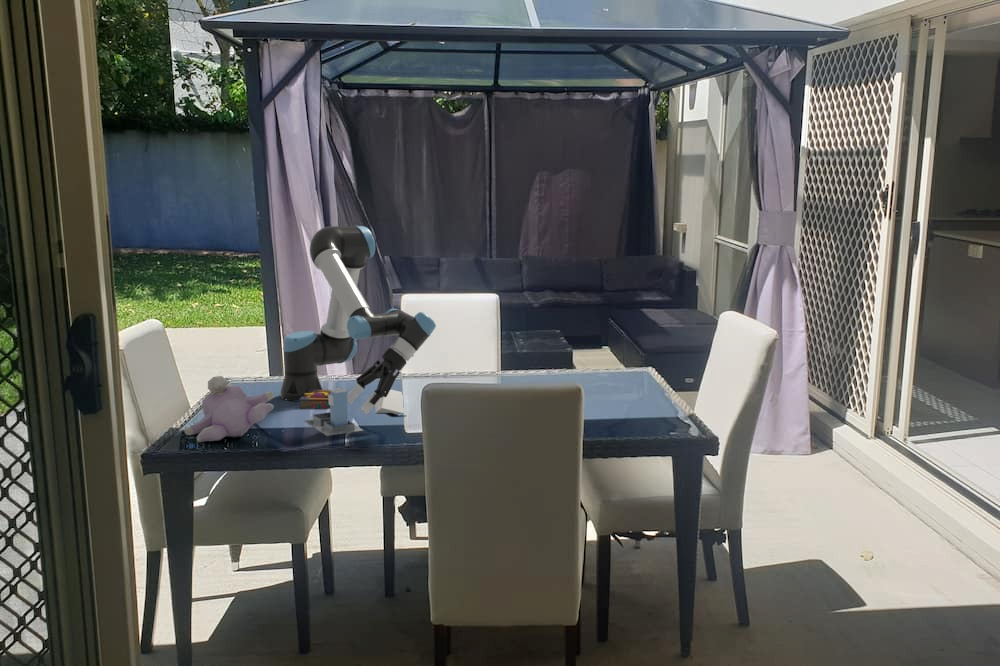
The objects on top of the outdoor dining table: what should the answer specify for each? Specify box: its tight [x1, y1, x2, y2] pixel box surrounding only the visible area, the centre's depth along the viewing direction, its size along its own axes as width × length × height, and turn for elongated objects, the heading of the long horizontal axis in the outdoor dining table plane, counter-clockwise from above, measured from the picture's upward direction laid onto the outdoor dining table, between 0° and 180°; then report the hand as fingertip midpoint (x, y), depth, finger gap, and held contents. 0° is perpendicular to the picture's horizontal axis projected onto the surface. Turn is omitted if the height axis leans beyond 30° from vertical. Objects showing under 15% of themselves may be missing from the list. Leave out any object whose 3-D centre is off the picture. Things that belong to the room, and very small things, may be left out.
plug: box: [328, 387, 348, 426], centre depth 269 cm, size 4×5×13 cm
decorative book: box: [298, 389, 331, 410], centre depth 303 cm, size 11×16×5 cm
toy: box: [183, 375, 276, 443], centre depth 271 cm, size 29×17×30 cm
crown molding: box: [374, 388, 404, 415], centre depth 305 cm, size 29×12×4 cm, turn 5°
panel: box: [304, 411, 364, 437], centre depth 275 cm, size 20×12×3 cm, turn 32°
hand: (355, 406), depth 272 cm, fingers open, 13 cm apart
